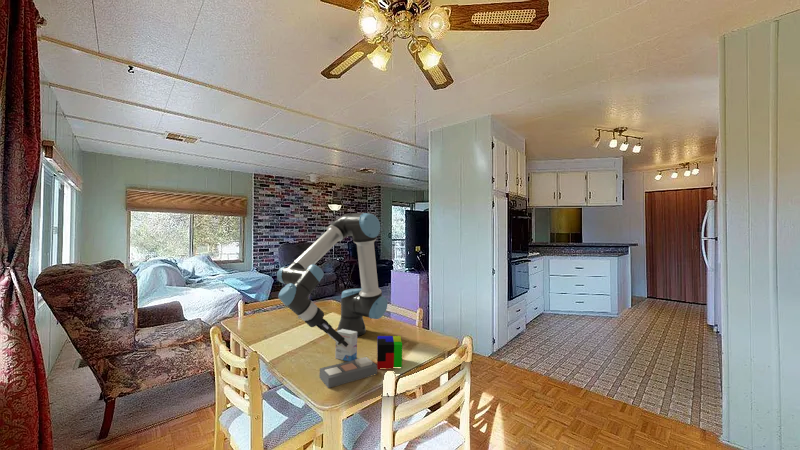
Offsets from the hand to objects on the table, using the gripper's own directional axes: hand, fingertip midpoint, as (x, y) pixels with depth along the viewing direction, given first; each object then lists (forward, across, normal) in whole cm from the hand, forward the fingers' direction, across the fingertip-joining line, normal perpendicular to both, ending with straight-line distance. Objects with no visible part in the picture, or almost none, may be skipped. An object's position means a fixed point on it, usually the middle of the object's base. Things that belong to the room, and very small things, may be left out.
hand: (344, 344), depth 136 cm
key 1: (-4, +15, -12) cm, 19 cm away
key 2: (+4, +15, -2) cm, 15 cm away
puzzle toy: (+15, +14, +5) cm, 21 cm away
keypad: (+1, +15, -8) cm, 17 cm away
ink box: (+6, -1, -4) cm, 7 cm away
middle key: (+1, +15, -7) cm, 16 cm away
